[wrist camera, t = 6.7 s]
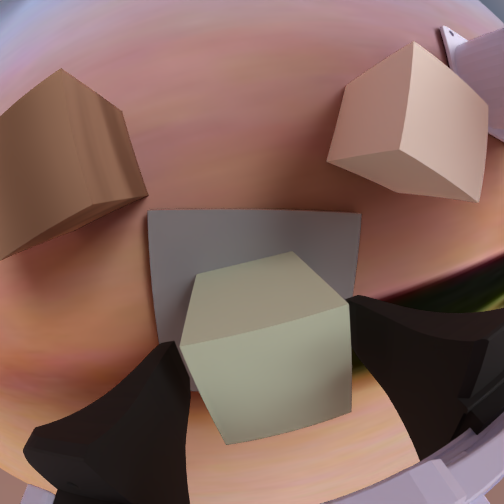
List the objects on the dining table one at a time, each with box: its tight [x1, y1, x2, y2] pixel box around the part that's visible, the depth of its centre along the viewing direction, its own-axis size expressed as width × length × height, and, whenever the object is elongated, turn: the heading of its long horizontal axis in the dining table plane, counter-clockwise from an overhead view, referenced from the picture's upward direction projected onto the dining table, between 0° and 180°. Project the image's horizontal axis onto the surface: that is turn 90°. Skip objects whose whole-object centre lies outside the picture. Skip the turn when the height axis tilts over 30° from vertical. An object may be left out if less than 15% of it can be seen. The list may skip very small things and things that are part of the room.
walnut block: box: [0, 68, 148, 261], centre depth 8 cm, size 4×4×6 cm
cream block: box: [326, 41, 488, 203], centre depth 9 cm, size 4×4×6 cm
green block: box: [179, 251, 352, 445], centre depth 10 cm, size 4×4×6 cm
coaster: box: [148, 208, 362, 391], centre depth 13 cm, size 10×10×1 cm
